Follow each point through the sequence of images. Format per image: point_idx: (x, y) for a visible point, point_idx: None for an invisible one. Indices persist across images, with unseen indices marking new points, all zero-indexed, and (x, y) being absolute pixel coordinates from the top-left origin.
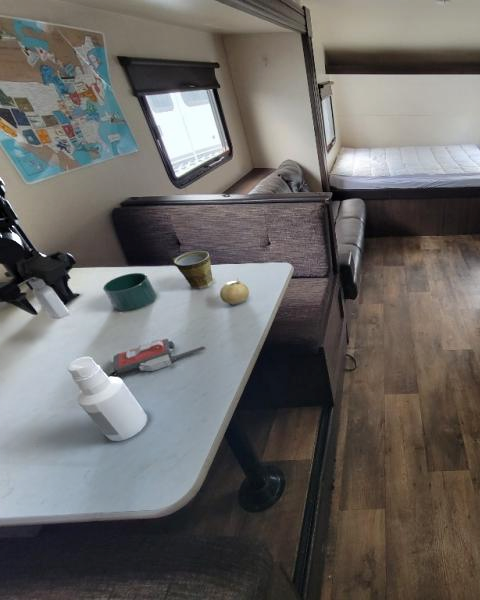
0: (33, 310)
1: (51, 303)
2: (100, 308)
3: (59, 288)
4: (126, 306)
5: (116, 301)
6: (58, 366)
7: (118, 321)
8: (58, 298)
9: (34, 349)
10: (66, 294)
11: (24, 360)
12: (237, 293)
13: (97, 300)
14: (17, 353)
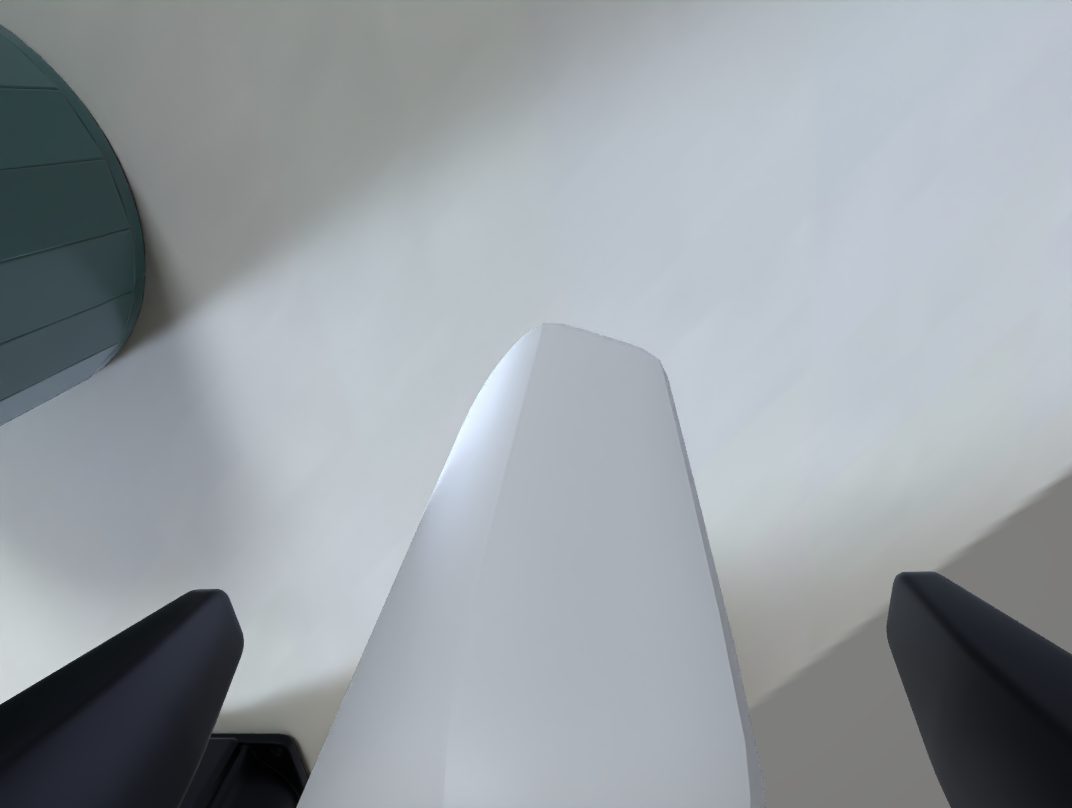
0: (1023, 647)
1: (673, 515)
2: (194, 462)
3: (155, 798)
4: (43, 122)
5: (22, 220)
6: (1061, 39)
7: (272, 77)
8: (468, 507)
9: (778, 509)
10: (222, 616)
11: (921, 464)
12: None
13: (132, 575)
14: (827, 585)
